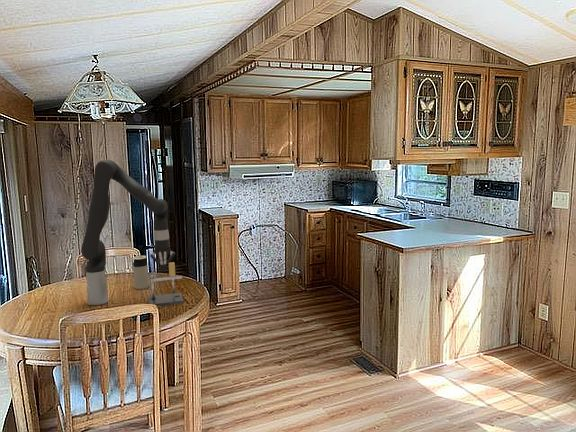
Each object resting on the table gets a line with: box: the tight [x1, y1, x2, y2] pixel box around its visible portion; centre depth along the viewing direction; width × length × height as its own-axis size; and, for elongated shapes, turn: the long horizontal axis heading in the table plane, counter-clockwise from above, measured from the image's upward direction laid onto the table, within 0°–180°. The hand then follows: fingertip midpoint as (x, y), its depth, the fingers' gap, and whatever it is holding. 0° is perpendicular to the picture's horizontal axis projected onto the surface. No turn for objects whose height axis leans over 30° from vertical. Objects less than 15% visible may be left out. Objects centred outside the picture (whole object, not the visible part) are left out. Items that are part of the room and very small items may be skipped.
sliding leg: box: [168, 261, 176, 296], centre depth 233 cm, size 3×4×18 cm
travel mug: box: [132, 255, 150, 290], centre depth 257 cm, size 8×8×18 cm
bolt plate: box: [147, 274, 184, 307], centre depth 232 cm, size 18×14×14 cm
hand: (163, 271), depth 231 cm, fingers closed
